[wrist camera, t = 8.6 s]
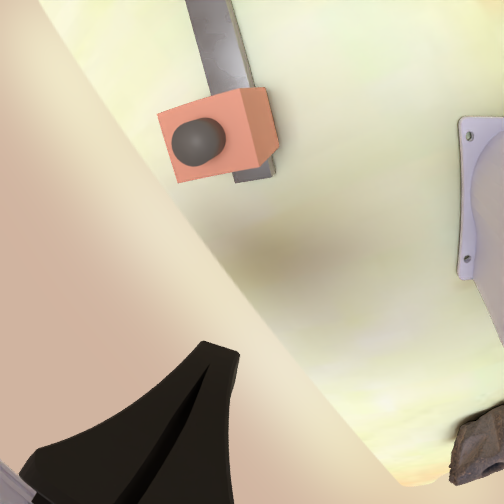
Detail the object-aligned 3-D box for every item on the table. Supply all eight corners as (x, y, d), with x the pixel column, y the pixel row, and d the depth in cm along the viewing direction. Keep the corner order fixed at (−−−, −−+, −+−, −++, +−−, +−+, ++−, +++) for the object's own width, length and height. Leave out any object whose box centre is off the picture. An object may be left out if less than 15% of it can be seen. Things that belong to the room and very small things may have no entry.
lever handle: (279, 146, 14) (250, 176, 10) (213, 159, 16) (163, 193, 11) (265, 87, 13) (227, 88, 9) (198, 104, 14) (139, 118, 10)
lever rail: (275, 172, 16) (272, 177, 15) (240, 177, 17) (235, 183, 16) (221, -30, 11) (214, -36, 10) (187, -18, 12) (179, -22, 11)
